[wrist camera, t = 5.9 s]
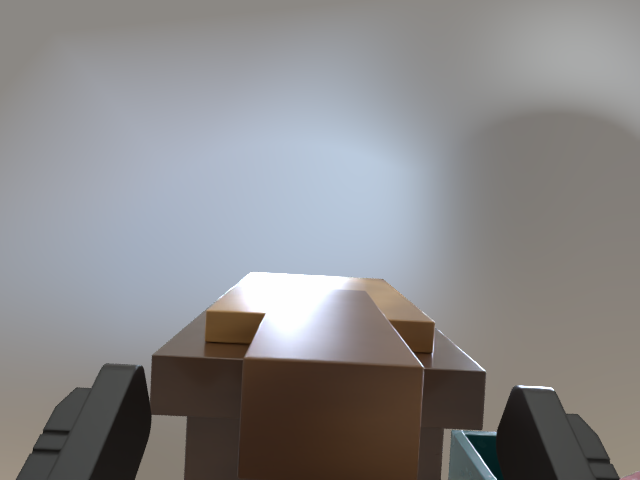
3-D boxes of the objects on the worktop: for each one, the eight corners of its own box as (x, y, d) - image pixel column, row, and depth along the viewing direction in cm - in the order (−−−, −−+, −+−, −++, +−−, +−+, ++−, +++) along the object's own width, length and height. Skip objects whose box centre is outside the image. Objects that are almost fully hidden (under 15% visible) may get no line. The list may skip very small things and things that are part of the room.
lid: (88, 473, 9) (92, 349, 9) (249, 291, 33) (250, 256, 33) (562, 495, 9) (571, 373, 9) (382, 298, 33) (384, 263, 33)
